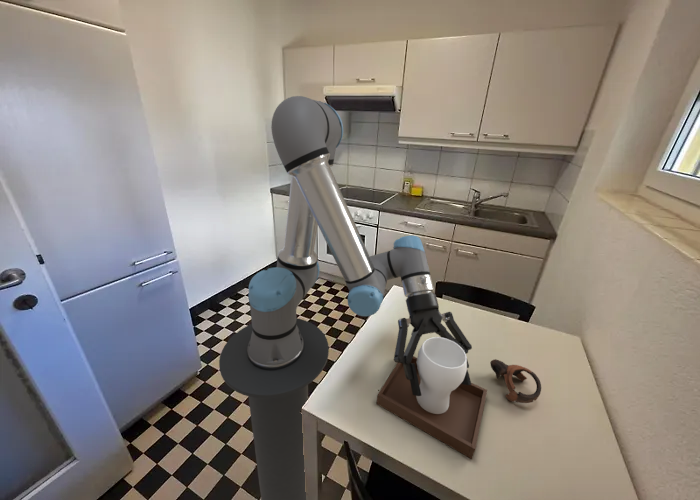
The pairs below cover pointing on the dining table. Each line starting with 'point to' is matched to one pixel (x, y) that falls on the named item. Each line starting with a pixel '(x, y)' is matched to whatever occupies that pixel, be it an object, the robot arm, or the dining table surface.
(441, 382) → the cup
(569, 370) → the dining table surface
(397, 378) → the tray
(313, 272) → the robot arm
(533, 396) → the brown curled loop
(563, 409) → the dining table surface
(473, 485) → the dining table surface
